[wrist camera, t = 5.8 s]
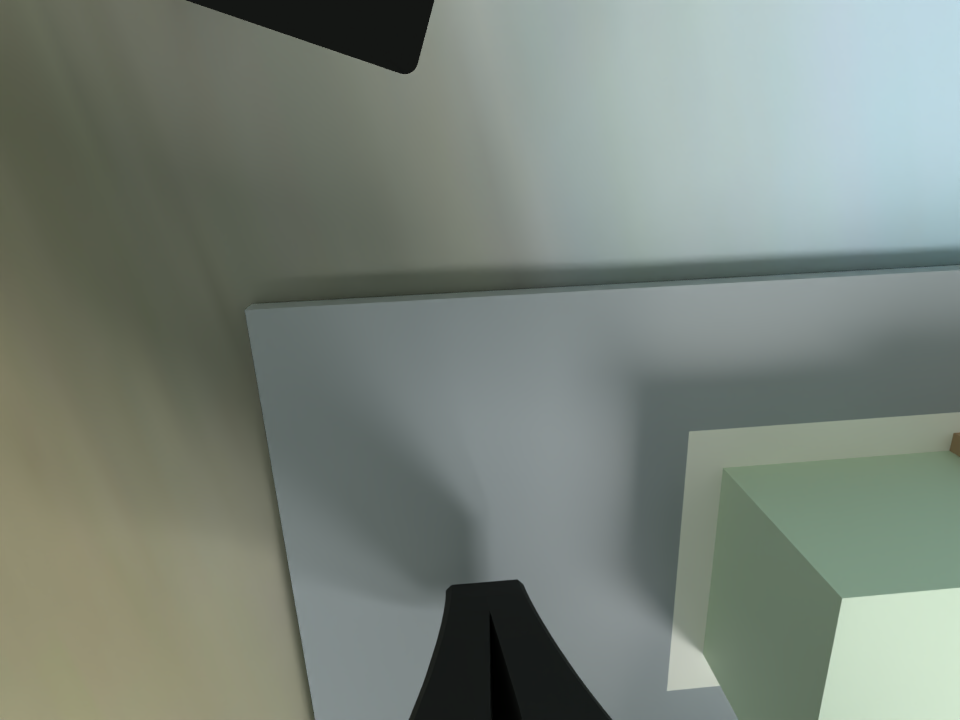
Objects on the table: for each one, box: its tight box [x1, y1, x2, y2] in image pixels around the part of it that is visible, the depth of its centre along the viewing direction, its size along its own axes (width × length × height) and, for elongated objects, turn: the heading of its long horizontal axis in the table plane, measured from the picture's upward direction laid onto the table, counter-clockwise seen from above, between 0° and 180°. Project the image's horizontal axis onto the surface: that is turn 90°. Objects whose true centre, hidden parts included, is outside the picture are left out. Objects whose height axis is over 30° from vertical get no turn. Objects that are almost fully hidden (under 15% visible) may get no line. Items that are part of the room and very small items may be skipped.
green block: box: [703, 451, 960, 720], centre depth 11 cm, size 5×5×4 cm
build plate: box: [245, 265, 960, 720], centre depth 13 cm, size 12×21×1 cm, turn 92°
